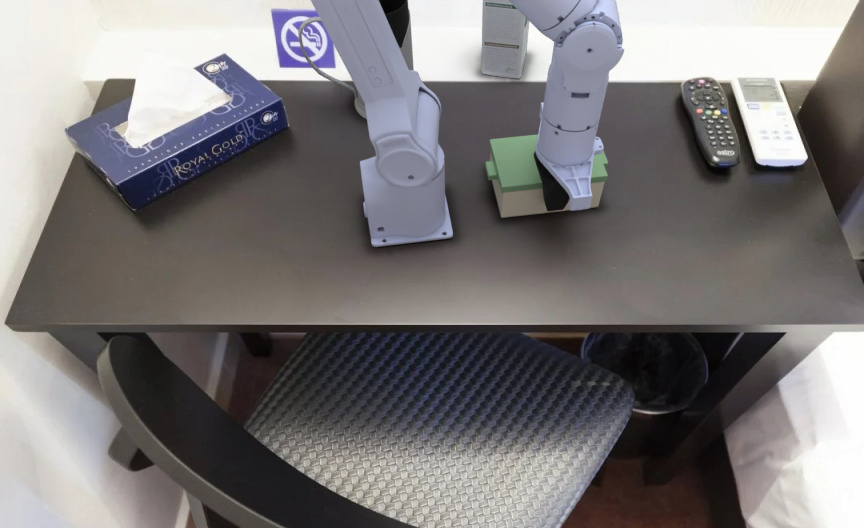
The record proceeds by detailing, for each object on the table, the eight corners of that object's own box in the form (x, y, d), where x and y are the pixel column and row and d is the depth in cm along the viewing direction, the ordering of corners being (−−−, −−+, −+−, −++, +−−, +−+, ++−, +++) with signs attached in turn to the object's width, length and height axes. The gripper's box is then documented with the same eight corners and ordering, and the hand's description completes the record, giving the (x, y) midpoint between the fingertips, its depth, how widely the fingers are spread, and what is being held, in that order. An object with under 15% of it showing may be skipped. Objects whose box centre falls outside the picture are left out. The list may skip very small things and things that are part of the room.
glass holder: (426, 116, 89) (421, 11, 77) (321, 137, 87) (299, 33, 74) (409, 76, 94) (402, -29, 81) (309, 95, 91) (286, -10, 79)
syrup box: (520, 80, 94) (530, -21, 81) (479, 74, 94) (482, -26, 82) (526, 55, 97) (536, -45, 85) (486, 50, 97) (491, -50, 85)
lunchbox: (607, 206, 81) (590, 160, 85) (616, 174, 76) (598, 128, 81) (491, 219, 79) (479, 171, 84) (493, 188, 75) (481, 139, 79)
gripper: (631, 159, 62) (604, 250, 74) (591, 63, 70) (572, 159, 82) (558, 167, 62) (542, 258, 73) (526, 69, 69) (516, 165, 81)
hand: (554, 206), depth 77 cm, fingers closed
